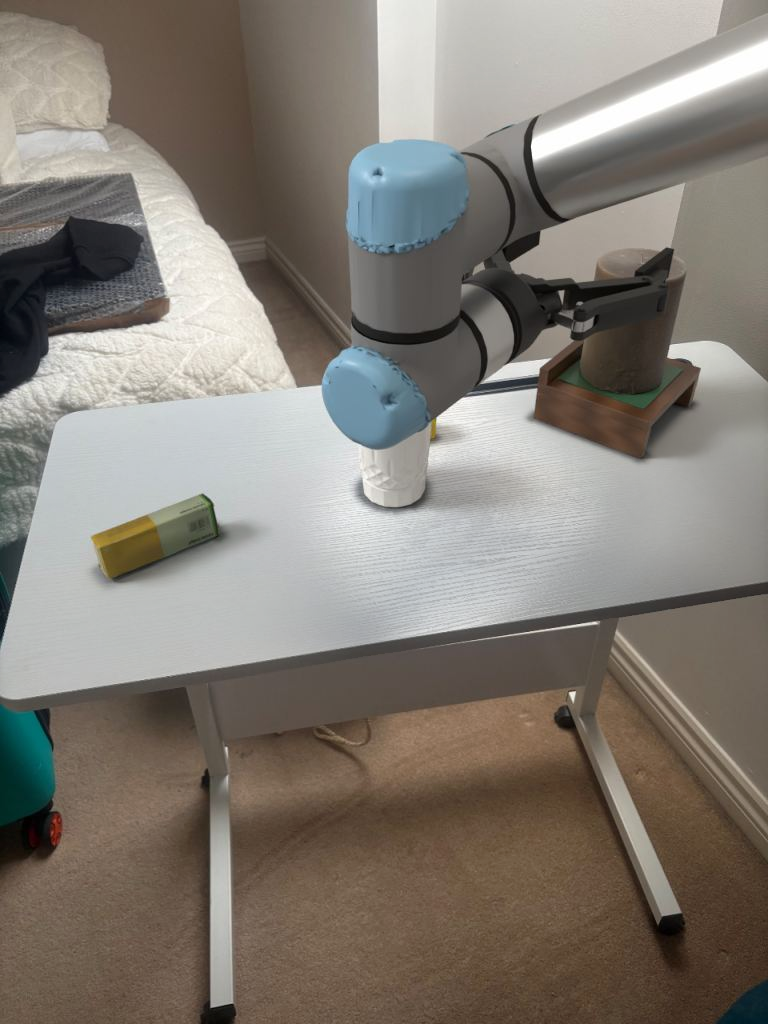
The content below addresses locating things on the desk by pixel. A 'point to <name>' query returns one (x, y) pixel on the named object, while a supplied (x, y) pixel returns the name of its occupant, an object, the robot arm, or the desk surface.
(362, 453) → the white cup
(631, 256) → the pillar candle
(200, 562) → the desk surface
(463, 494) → the desk surface
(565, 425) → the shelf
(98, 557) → the medication box
